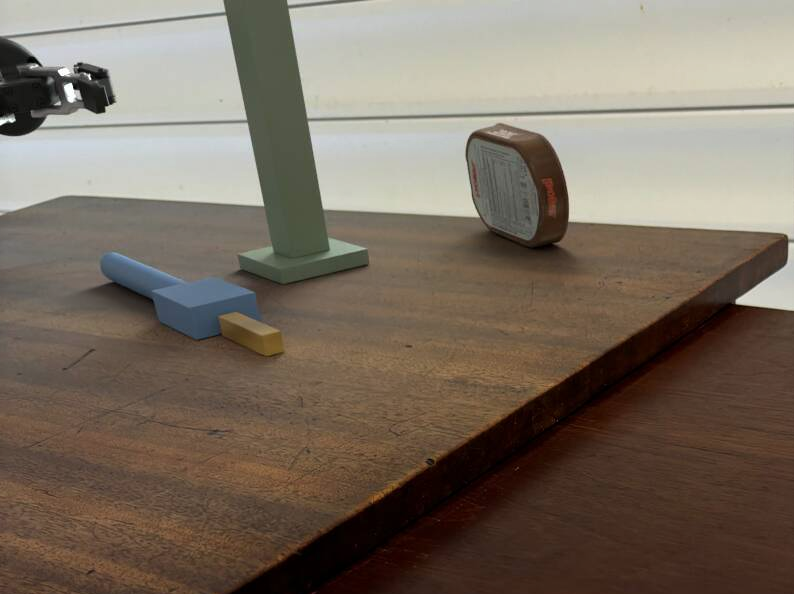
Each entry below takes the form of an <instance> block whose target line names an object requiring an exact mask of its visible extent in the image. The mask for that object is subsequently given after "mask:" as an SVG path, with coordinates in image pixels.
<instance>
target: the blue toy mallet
mask: <svg viewBox="0 0 794 594" xmlns="http://www.w3.org/2000/svg"><path fill="white" fill-rule="evenodd" d="M99 268H100V271H101V274H102V275H103V276H104V277H105V278H106V279H107V280H110V281H112V282H114V283H116V284H118V285H121V286H123V287H125V288H127V289H128V290H131V291H133V292H135V293H138V294H140V295H141V296H144V297H145V298H147V299H148V298H149V299H151V300H153V303H154V307H155V311H156V315H157V319H158V322H159V323H161V324H163V325H165V326H167V327H169V328H171V329H174V330H175V331H178V332H180V333H181V334H184V335H186V336H188V337H190V338H191V339H194V340H196V341H198V340H202V339H203V340H204V339H207V338H210V337H215V336H219V335H222V331H221V327H220V323H219V318H218V316H220V315H224V314H228V313H233V312H238V313H240V314H242V315H245V316H247V317H249V318H252V319H254V320H256V321H259V322H261V323H262V319H261V315H260V314H261V313H260V310H259V305H258V300H257V296H256V292H255V291H252V290H250V289H247V288H245V287H242V286H240V285H237V284H236V283H232V282H230V281H227V280H225V279H222V278H219V277H217V276H210V277H206V278H201V279H196V280H193V281H189V282H188V281H186V280H183V279H180V278H177V277H175V276H173V275H170V274H168V273H166V272H163V271H161V270H158V269H156V268H153V267H151V266H149V265H147V264H144V263H142V262H139V261H137V260H134V259H133V258H131V257H130V258H129V257H127V256H124V255H122V254H121V253H118V252H115V251H114V252H113V251H111V252H110V251H109V252H108V253H106V254H103V256H102V257H101V259H100V262H99Z"/></svg>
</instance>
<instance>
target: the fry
mask: <svg viewBox="0 0 794 594" xmlns="http://www.w3.org/2000/svg"><path fill="white" fill-rule="evenodd" d="M218 318H219V323H220V327H221V331H222V334H221V335H222V337H224V338H226V339H228V340H230V341H232V342H234V343H236V344H238V345H240V346H243V347H245V348H247V349H249V350H251V351H253V352H256V353H258V354H259V355H262V356H263V357H271V356H274V355H278V354H282V353H285V347H284V342H283V336H282V332H281V330H280V329H277V328H275V327H272V326H270V325H268V324H266V323H263V322H262V321H261V322H259V321H256V320H254V319H252V318H249V317H247V316H245V315H242V314H240V313H238V312H233V313H228V314H224V315H220V316H218Z"/></svg>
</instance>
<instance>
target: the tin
mask: <svg viewBox="0 0 794 594" xmlns="http://www.w3.org/2000/svg"><path fill="white" fill-rule="evenodd" d="M465 161H466V167H467V175H468V180H469V185H470V192H471V200H472V202H473V205H474V208H475V210H476V212H477V214H478V217H479V218H480V220H481V222H482V223H483V224H484V226H485V227H486V228H487V229H488V230H489V231H491V232H493V233H495V234H496V235H499V236H502V237H505V238H507V239H509V240H511V241H514V242H516V243H517V244H520V245H522V246H524V247H527V248H537V247H542V246H546V245H550V244H558V243H560V242H561V241H562V240H563V239H564V238H565V235H566V233H567V230H568V227H569V220H570V198H569V191H568V184H567V181H566V180H567V179H566V177H565V173H564V169H563V167H562V166H563V165H562V163H561V161H560V157H559V156H558V154H557V151H556V150H555V148H554V147H553V145H552V143H551V142H550V141H549V140H548V138H547V137H545V135H544V134H541V133H539V132H536V131H531V130H528V129H525V128H521V127H517V126H513V125H510V124H507V123H504V122H497V123H495V124H494V125H491V126H487V127H482V128H479V129H476V130H474V131H472V132H471V134H469V136H468V138H467V140H466V144H465Z"/></svg>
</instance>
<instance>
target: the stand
mask: <svg viewBox="0 0 794 594" xmlns="http://www.w3.org/2000/svg"><path fill="white" fill-rule="evenodd" d="M222 1H223V6H224V11H225V16H226V21H227V26H228V31H229V32H228V33H229V36H230V41H231V48H232V51H233V56H234V62H235V66H236V72H237V76H238V81H239V86H240V92H241V96H242V101H243V106H244V111H245V116H246V122H247V126H248V132H249V136H250V142H251V146H252V147H251V148H252V151H253V156H254V161H255V166H256V172H257V177H258V181H259V187H260V191H261V196H262V197H261V198H262V202H263V207H264V211H265V217H266V221H267V227H268V233H269V237H270V243H271V246H267V247H262V248H258V249H253V250H248V251H244V252H239V253H237V259H238V265H239V269H240V270H243V271H246V272H248V273H251V274H253V275H257V276H259V277H261V278H265V279H267V280H269V281H272V282H275V283H278V284H280V285H286V284H291V283H294V282H295V283H296V282H299V281H303V280H307V279H312V278H316V277H321V276H324V275H329V274H333V273H336V272H340V271H346V270H349V269H354V268H358V267H362V266H366V265H370V258H369V251H368V248H366V247H363V246H359V245H356V244H352V243H350V242H345V241H343V240H339V239H335V238H332V237H329V235H328V230H327V223H326V219H325V212H324V206H323V201H322V195H321V190H320V183H319V178H318V171H317V166H316V165H317V164H316V161H315V155H314V154H315V153H314V149H313V142H312V137H311V131H310V126H309V125H310V124H309V119H308V113H307V108H306V101H305V96H304V91H303V85H302V79H301V72H300V68H299V61H298V55H297V50H296V44H295V39H294V33H293V32H294V31H293V27H292V22H291V16H290V10H289V3H288V0H222Z"/></svg>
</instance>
